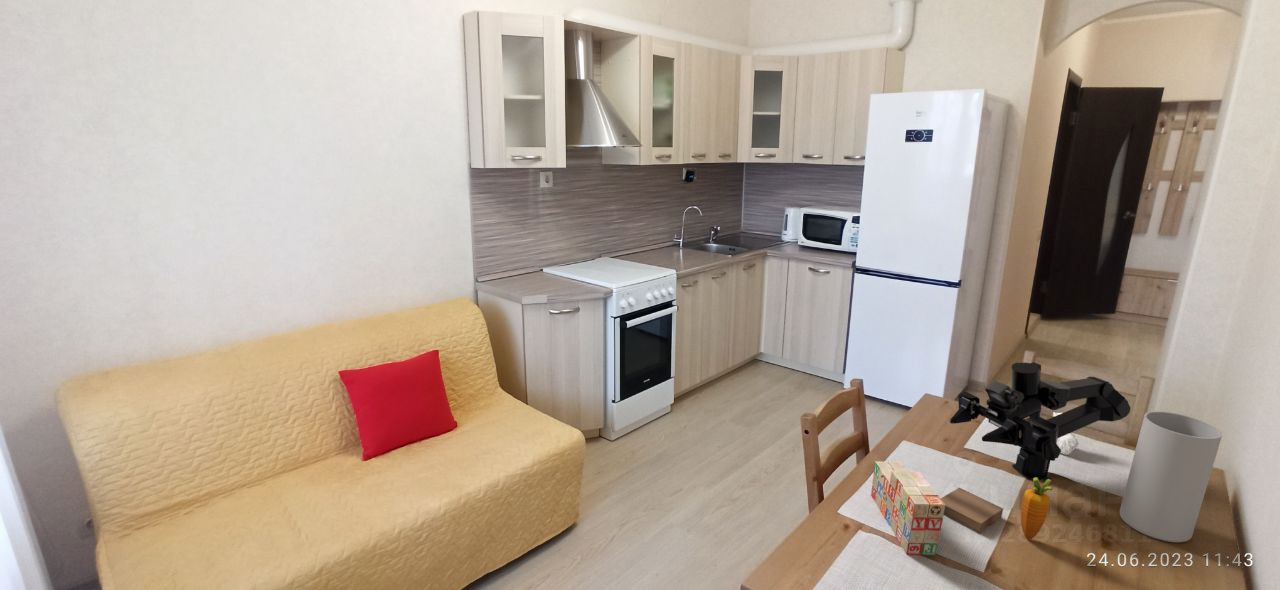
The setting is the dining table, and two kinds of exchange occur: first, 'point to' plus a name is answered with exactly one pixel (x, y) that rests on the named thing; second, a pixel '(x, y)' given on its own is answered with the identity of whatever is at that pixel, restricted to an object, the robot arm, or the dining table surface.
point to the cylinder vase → (1169, 475)
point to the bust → (1066, 441)
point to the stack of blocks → (908, 507)
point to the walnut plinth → (971, 510)
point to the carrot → (1034, 508)
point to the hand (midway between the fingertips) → (966, 430)
